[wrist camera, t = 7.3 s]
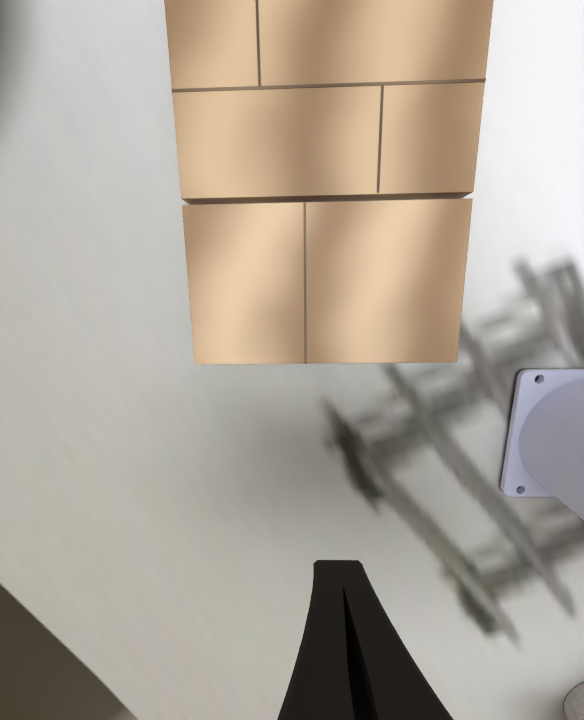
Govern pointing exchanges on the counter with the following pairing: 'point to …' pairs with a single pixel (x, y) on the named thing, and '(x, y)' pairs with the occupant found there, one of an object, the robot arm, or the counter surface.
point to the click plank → (327, 281)
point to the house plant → (575, 703)
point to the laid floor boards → (327, 98)
